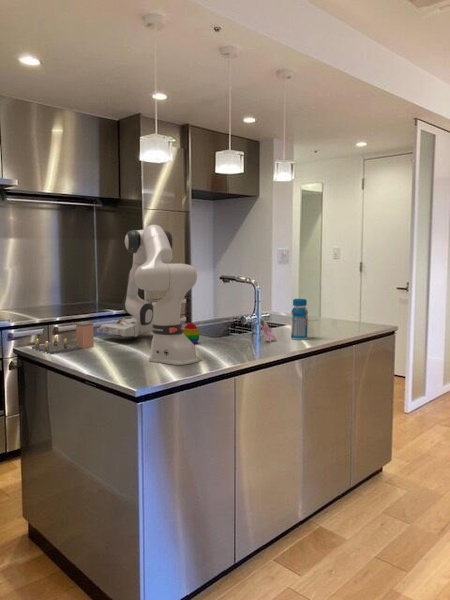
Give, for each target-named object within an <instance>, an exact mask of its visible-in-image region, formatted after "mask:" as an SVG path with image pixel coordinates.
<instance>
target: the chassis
mask: <svg viewBox="0 0 450 600" xmlns="http://www.w3.org/2000/svg"><path fill="white" fill-rule="evenodd" d="M39 339H40V338H35V345H33V346H31V349H32V350H33V349H36V350H35V351H37V350H40V351H44V352H47V353H46V354H48V353H50V354H49V355H55V354H54V353H56V354H61V353H60V352H62V353H68V352H73V350H74V351H79V349H81V348H80V347H78V346H77V345H74V344H69V343H68V338H67V337H66V338H63V342H61V341H58V335H54V336H53V343H50V342H49V341H48V340H46V341H44V342H45V343H44V344H40V340H39ZM40 351H39V352H40ZM67 351H68V352H67ZM44 352H43V353H44Z"/></svg>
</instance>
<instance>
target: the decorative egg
mask: <svg viewBox="0 0 450 600" xmlns="http://www.w3.org/2000/svg"><path fill="white" fill-rule="evenodd" d="M184 327H185V328H183V329H184V330H183V331H184V332H183V333H184V335H185V336H186V337H187V338H188V339H189V340H190V341H191V342H192V343H193V344H194V345H196V344H197V343H198V342H199V341H200V332H199V329H198V327H197V325H195V323H192V322H188V323H187V324H186V325H185V326H184Z"/></svg>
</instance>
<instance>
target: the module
mask: <svg viewBox="0 0 450 600" xmlns="http://www.w3.org/2000/svg"><path fill="white" fill-rule="evenodd" d="M75 328H76V329H75V330H76V346H78V347H80V349H83V350H84V349H89V348H94V347H95V338H94V337H95V336H94V323H92V322H88V321H85V322H76V324H75Z"/></svg>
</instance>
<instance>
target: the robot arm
mask: <svg viewBox="0 0 450 600" xmlns="http://www.w3.org/2000/svg"><path fill="white" fill-rule="evenodd" d="M124 237H125V238H124V244H125V248H126V250H127V251H128V252H129V253H132V255H133V257H132V266H131V268H130V269H129V271H128V276H127V281H126V282H127V283H126V289H125V295H124V298H123V300H122V310H123V311H124V312H125V314H129V315H131V316H132V318H130V319H125V320H122V321H121V322H120V323H119V324H117V323H103V324H101V325H100V327H99V328H97V329H96V332H97V333H104V334H105V333H106V334H108V335H117V336H122V337H123V338H131V337H132V338H133V337H138V336H141V335H147V334H150V333H152V335H153V336H152V339H151V347H150V357H148V361H149V362H154V363H160V364H168V365H173V366H174V365H175V366H182V365H183V366H185V365H189V364H194V363H197V362H198V363H199V362H201V361H202V359H203V357H202V356H199V355H197V352H196V351H197V350H196V346H195V345H196V344H193V343H192V342H191V341H190V340H189V339H188V338H187V337H186V336H185V335H184V333H183V332H184V331H183V330H184V328H185V326H183V325H182V323H181V313H182V312H181V311H182V303H183V300H184V299H185V296H186V294H188V292H189V291H190V290H191V289H192V288H194V287H195V285H196V283H197V279H198V273H197V270H196V268H195V267H194V266H193V265H191V264H187V263H171V262H172V260H173V256H174V254H173V250H172V249H173V245H174V239H173V236H172V233H171V232H170V231H168V230H165V229H163V228H162V227H161V225H158V224H150V225H148V226H146V227H145V228H144V229H139V230H138V229H137V230H136V229H132V230H129V231H128V232H126V234H125V236H124ZM139 290H144V291H150V292H156V291H158V292H159V291H161V292H163V291H166V294H165V296H164V297H163V298H161V299H159V300H158V301H156V302H155V304H154V305H153V304H152V303H150V302H148V301H146V300H145V299H142V298H141V297H140V296H139V294H138V293H139Z"/></svg>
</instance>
